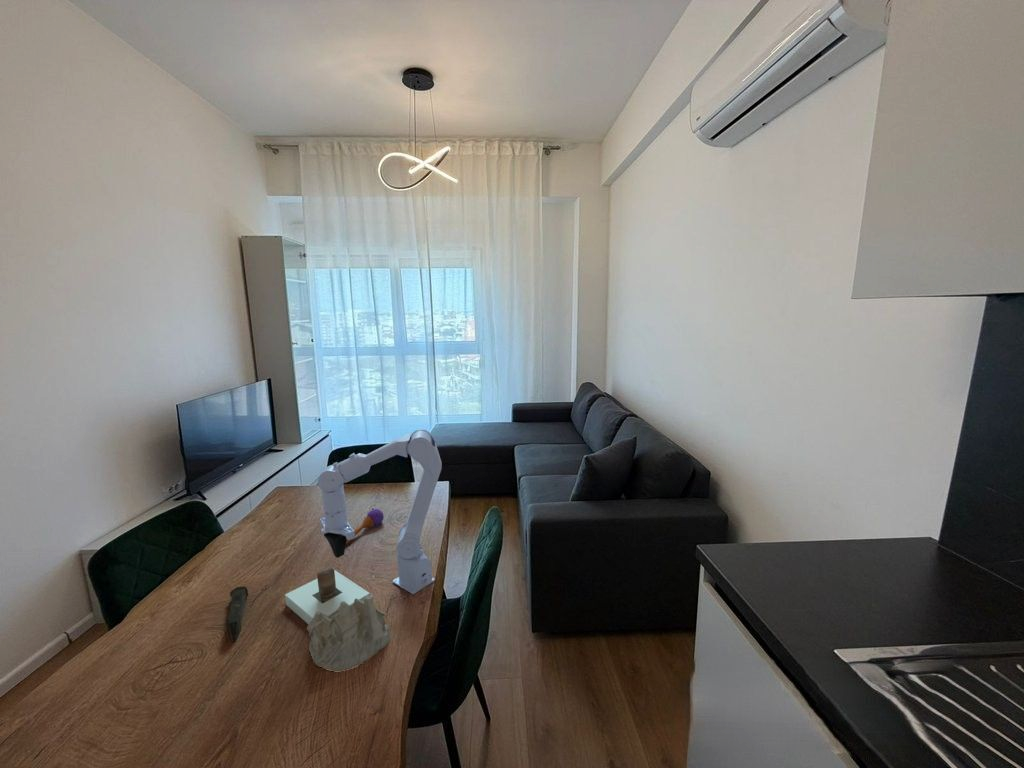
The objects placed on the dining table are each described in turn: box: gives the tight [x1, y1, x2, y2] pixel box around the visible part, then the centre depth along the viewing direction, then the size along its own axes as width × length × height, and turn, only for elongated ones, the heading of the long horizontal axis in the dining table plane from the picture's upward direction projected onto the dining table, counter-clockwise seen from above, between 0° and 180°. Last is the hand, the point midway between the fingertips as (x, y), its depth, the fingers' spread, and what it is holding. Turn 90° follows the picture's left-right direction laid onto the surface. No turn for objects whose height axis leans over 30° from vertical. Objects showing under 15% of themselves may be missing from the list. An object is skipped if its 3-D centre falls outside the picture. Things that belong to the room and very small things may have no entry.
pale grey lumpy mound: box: [306, 594, 391, 671], centre depth 99 cm, size 16×16×15 cm
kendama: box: [346, 508, 385, 545], centre depth 151 cm, size 6×6×20 cm
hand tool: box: [227, 585, 249, 643], centre depth 108 cm, size 19×4×5 cm, turn 26°
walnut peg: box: [316, 567, 336, 604], centre depth 113 cm, size 4×4×9 cm
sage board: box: [284, 569, 371, 625], centre depth 114 cm, size 18×14×3 cm
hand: (339, 555), depth 118 cm, fingers closed
